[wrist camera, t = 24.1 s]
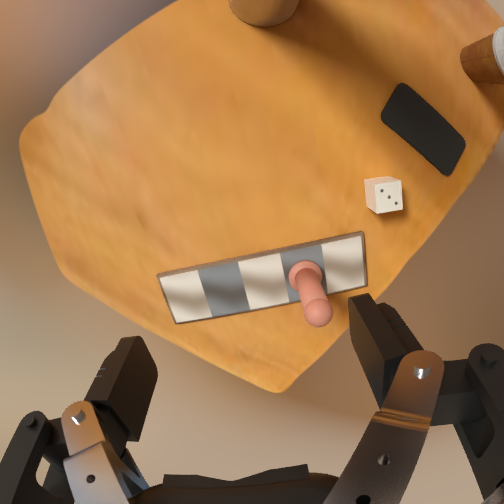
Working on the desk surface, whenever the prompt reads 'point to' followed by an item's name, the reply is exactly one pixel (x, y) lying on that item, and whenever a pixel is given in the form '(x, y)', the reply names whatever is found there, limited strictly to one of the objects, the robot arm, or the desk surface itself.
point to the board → (261, 278)
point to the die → (383, 194)
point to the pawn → (311, 292)
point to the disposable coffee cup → (485, 59)
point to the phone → (423, 128)
